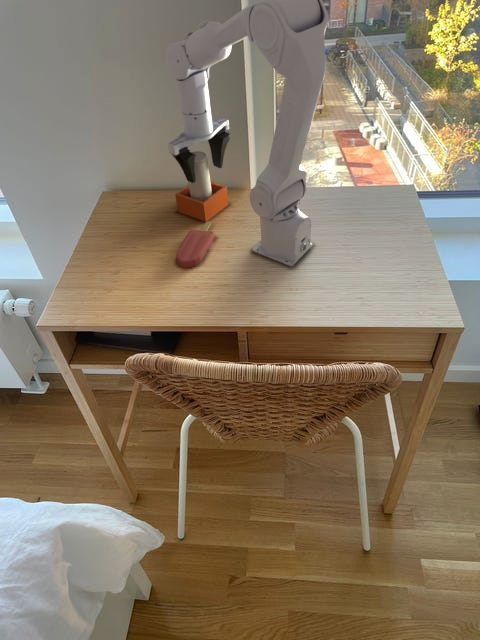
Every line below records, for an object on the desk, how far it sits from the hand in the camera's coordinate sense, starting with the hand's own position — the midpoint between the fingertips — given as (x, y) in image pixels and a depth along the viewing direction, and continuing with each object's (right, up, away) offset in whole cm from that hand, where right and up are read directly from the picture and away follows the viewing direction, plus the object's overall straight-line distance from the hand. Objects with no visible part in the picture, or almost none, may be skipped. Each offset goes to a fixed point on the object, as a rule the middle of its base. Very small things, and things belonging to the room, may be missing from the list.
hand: (204, 173), depth 103 cm
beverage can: (-1, -5, +8) cm, 9 cm away
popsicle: (-1, -16, -2) cm, 16 cm away
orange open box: (-1, -5, +8) cm, 10 cm away
